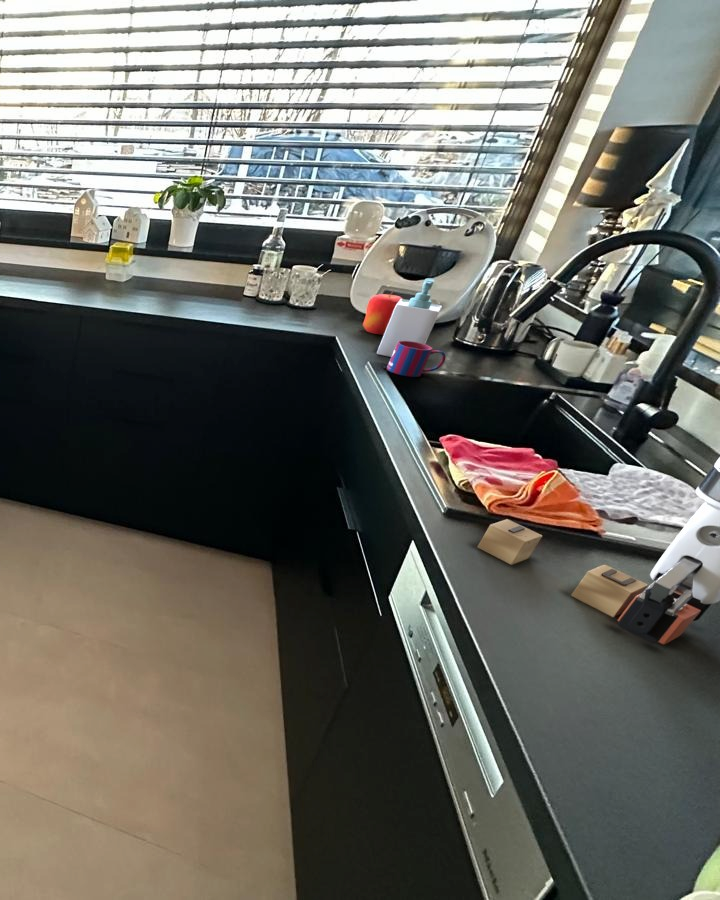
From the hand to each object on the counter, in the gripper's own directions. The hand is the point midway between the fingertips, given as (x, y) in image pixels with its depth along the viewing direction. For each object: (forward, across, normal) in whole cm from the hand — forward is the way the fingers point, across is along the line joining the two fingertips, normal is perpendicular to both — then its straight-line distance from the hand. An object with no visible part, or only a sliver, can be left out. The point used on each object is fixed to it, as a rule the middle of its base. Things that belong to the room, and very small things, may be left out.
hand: (657, 623), depth 70 cm
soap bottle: (+1, +75, +76) cm, 107 cm away
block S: (+1, 0, 0) cm, 1 cm away
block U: (+1, 0, +5) cm, 5 cm away
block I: (+1, 0, +15) cm, 15 cm away
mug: (+1, +63, +65) cm, 90 cm away
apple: (+1, +90, +91) cm, 128 cm away
